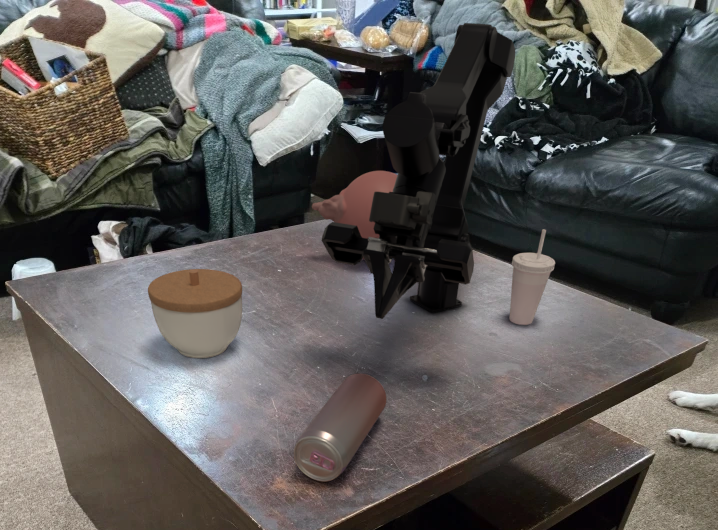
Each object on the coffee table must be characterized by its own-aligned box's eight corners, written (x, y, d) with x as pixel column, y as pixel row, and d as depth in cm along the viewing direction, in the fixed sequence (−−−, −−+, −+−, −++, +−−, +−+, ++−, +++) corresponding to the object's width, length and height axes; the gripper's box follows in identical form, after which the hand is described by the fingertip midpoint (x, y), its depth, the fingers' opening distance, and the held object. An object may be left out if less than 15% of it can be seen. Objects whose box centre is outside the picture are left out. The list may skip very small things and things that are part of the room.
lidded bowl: (212, 320, 99) (205, 248, 92) (264, 348, 93) (259, 273, 86) (141, 345, 92) (126, 269, 85) (190, 377, 86) (179, 297, 79)
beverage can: (380, 422, 80) (335, 491, 69) (337, 402, 80) (286, 468, 69) (394, 383, 76) (349, 451, 65) (349, 363, 76) (297, 426, 65)
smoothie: (545, 329, 100) (567, 237, 91) (504, 328, 100) (523, 236, 91) (536, 312, 105) (556, 223, 96) (497, 311, 105) (514, 222, 96)
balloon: (314, 244, 128) (314, 159, 118) (414, 247, 128) (422, 163, 118) (309, 272, 116) (308, 180, 106) (418, 276, 116) (428, 184, 106)
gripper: (328, 150, 75) (289, 275, 74) (484, 169, 70) (445, 303, 69) (350, 203, 86) (317, 313, 85) (487, 223, 80) (453, 340, 80)
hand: (378, 317), depth 79 cm, fingers closed
